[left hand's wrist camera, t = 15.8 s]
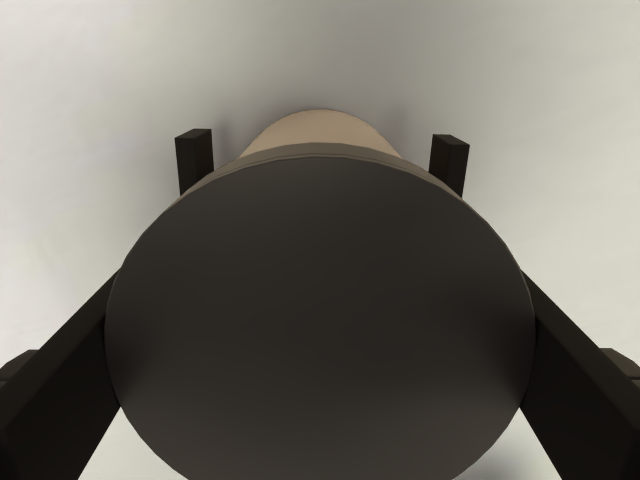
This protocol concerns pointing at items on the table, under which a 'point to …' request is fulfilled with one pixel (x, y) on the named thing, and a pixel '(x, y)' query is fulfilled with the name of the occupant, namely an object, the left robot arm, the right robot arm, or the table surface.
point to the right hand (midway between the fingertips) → (322, 136)
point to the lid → (319, 323)
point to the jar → (319, 132)
